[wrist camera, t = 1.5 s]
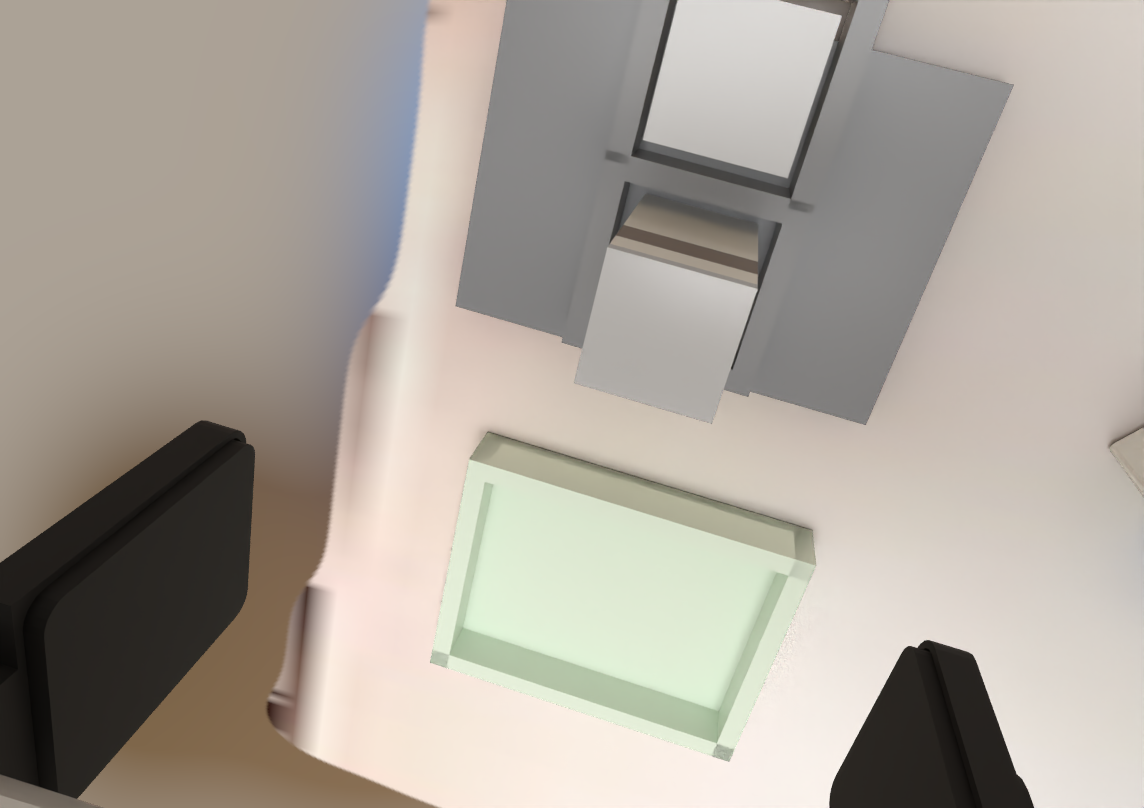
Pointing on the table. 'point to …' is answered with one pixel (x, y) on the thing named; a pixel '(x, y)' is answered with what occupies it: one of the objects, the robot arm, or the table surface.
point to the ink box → (1131, 457)
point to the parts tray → (617, 594)
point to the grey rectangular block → (671, 307)
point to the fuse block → (728, 172)
